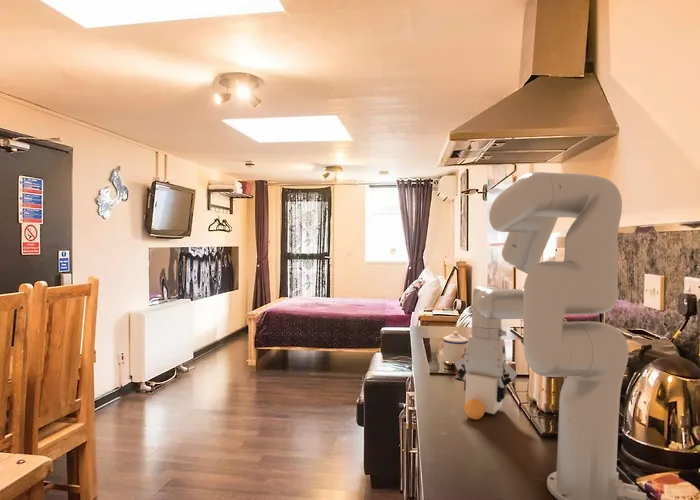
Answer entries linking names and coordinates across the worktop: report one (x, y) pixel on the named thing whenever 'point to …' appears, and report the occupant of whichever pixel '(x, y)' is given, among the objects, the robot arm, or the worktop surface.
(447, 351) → the teacup with lid
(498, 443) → the worktop surface
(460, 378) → the pastry
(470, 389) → the cream matte cube
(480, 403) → the ball
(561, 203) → the robot arm
